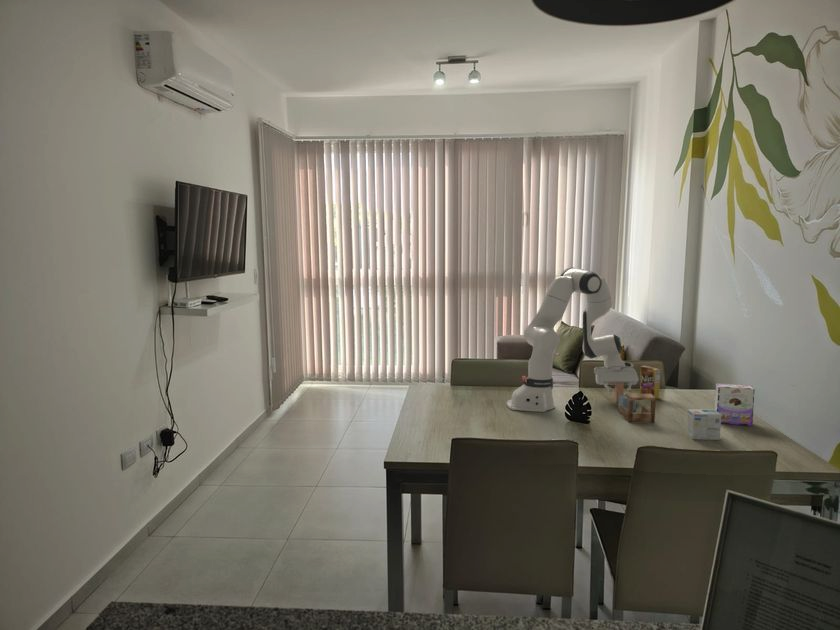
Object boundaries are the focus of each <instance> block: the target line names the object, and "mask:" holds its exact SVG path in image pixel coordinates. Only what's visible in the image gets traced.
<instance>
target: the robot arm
mask: <svg viewBox="0 0 840 630" xmlns="http://www.w3.org/2000/svg"><path fill="white" fill-rule="evenodd" d="M610 291H611V290H610V288H609V285H608V282H607V281H606V279H605V278H604V277H603V276H601V275H598V274H597V273H595V272H594V271H590V270H587V269H584V268H578V267H567V268H565V269H563V271H562V272H561V273H560V275H558V276H556V277H554V279H553V281H552V282H551V284H550V285H549V287H548V289H547V291H546V292H545V296H544V298H543V300H542V303H541V305H540V307H539V310H538V311H537V313H536V314H535V316H534V318H533V319H532V320H531V321H530V323H529V324H528V325H527V326H526V327H525V328H524V330H523V338H524V340H525V341H526V342H527V343H528V345H530V346H532V351H531V357H530V358H529V359H528V368H527V369H528V373H527V374H528V375H527V376H526V375H522V377H521V380H522V381H523V384H522V385H521V386H519V387H518V388H516V389H515V390H514V391H513V393H512V395H511V399H509V400H507V401H506V406H507V407H508V408H509V409H510V410H512V411H521V412H524V411H525V412H540V413H544V412H547V411H549V410H553V409H554V408H555V407H556V405H555V401H554V397H553V396H554V395H553V390H554V389H553V388H554V378H553V362H554V358H555V354H556V350H557V349H558V348H559V345H560V341H561V339H560V335H559V334H558V333H557V332H556V331H555V329H554V328H555V326H556V325H557V323H559V322H560V321H561V320H562V319H563V316H564V315H565V312H566V309H567V307H568V305H569V302H570V300H571V297H572V295H573V294H574V292H575V293H580V294H584V295H585V296H586V300H587V305H586V308H585V309H584V310H583V313H582V352H583V355H584V356H585V357H587V358H589V359H595V358H598V357H602V359H603V366H597V367H595V368H594V369H593V373H594V375H595V383H596V384H597V385H601V386H603V387H604V388H606V390H607V393H611V392H612V387H611V386H609V385H614V386H615V383H622V384H624V385H625V386H626V385H627V386H628V387H627V388H626V391H627V393H631V392H632V386H634V385H636V386H637V384H638V383H639V382H640V377H639V376H638V373H637V371H636V369H635V368H634V364H633V363H631V362H629V361H624V360H623V359H622V358H621V353H622V352H623V346H622V342H621V338H620V337H619V336H618V335H617V334H606V335H602V336H596V337H592V325H593V323H594V322H596V321H597V320H598V319H601V318H602V317H603V316H606V314H608V312H610V310H611V308H612V297H611V296H612V295H611V292H610Z"/></svg>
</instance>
